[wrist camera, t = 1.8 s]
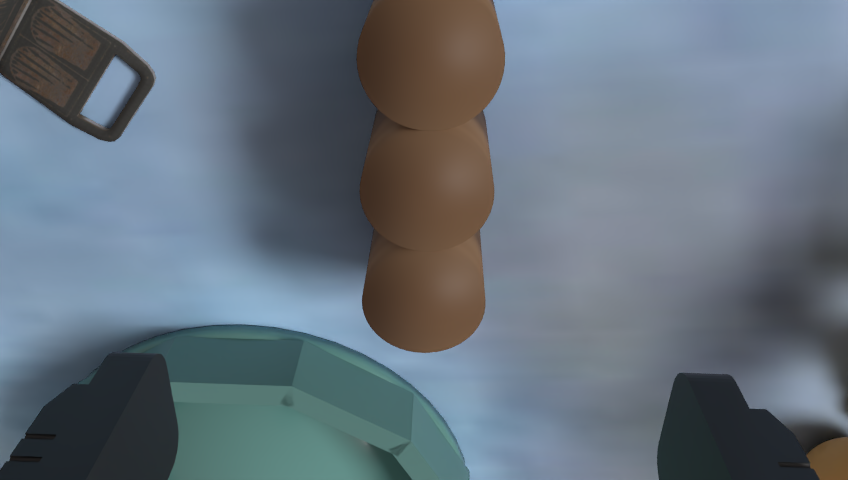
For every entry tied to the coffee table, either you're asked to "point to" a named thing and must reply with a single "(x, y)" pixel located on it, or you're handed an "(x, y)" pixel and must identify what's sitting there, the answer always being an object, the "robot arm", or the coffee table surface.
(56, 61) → the strap clip
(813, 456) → the figurine
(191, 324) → the coffee table surface
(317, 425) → the tray
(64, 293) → the coffee table surface
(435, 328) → the brown triple cylinder block
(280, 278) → the coffee table surface
